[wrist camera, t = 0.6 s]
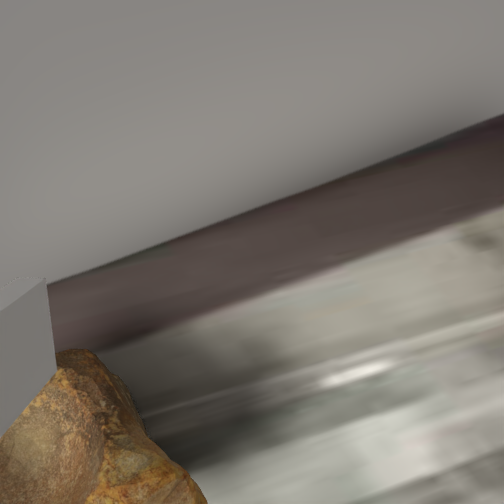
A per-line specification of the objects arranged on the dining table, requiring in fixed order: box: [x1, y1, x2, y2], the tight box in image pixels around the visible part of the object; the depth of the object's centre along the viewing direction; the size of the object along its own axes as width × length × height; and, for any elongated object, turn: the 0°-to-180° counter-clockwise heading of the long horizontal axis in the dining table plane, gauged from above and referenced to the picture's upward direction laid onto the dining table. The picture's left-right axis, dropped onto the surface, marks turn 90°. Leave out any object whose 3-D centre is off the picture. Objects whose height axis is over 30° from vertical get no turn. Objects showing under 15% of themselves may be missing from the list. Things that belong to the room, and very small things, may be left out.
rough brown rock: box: [0, 349, 208, 504], centre depth 38 cm, size 23×16×15 cm
